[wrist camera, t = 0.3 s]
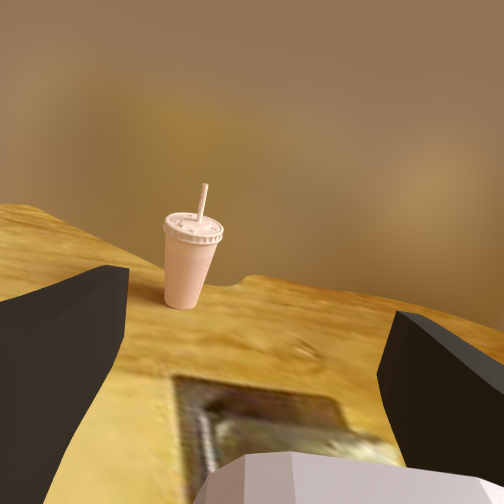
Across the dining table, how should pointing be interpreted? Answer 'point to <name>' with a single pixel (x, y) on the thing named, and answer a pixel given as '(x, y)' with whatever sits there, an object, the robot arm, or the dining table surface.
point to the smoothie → (188, 254)
